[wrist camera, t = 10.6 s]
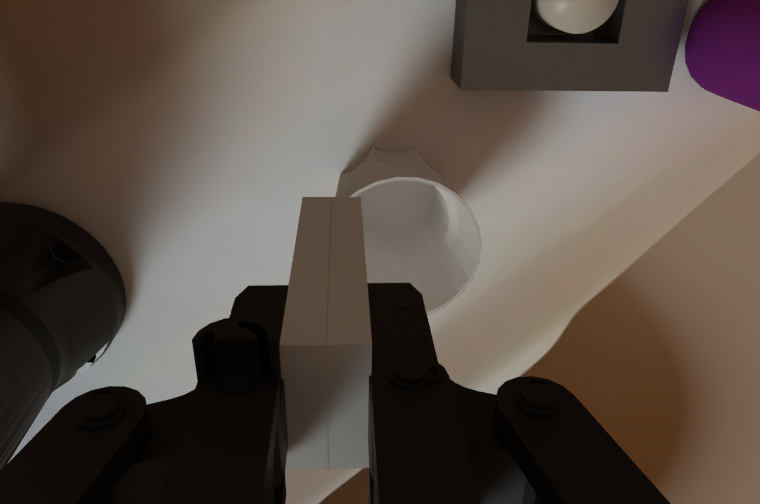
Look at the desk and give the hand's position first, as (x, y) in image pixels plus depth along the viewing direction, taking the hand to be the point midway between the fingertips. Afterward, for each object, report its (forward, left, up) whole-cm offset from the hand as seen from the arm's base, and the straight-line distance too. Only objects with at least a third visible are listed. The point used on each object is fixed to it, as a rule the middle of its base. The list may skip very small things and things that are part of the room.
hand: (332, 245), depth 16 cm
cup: (+4, -10, -30) cm, 32 cm away
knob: (+15, +5, -29) cm, 33 cm away
